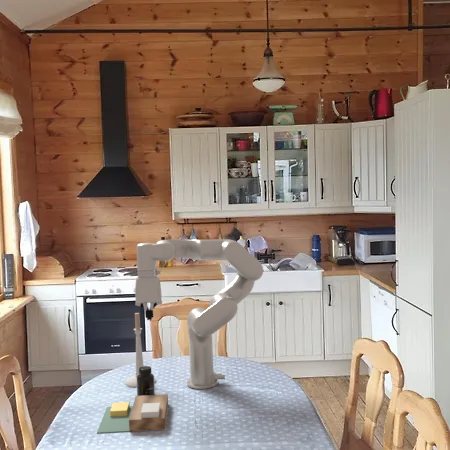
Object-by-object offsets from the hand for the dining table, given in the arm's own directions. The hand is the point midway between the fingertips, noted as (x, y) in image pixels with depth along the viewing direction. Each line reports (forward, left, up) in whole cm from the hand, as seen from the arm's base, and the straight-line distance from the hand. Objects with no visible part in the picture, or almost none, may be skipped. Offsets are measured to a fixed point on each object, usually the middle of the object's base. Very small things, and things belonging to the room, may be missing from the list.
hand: (149, 319), depth 234 cm
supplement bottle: (+2, +8, -29) cm, 30 cm away
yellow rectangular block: (+10, +21, -27) cm, 36 cm away
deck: (-1, +27, -29) cm, 40 cm away
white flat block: (-2, +33, -25) cm, 42 cm away
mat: (+10, +27, -29) cm, 41 cm away
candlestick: (+6, -10, -29) cm, 32 cm away
